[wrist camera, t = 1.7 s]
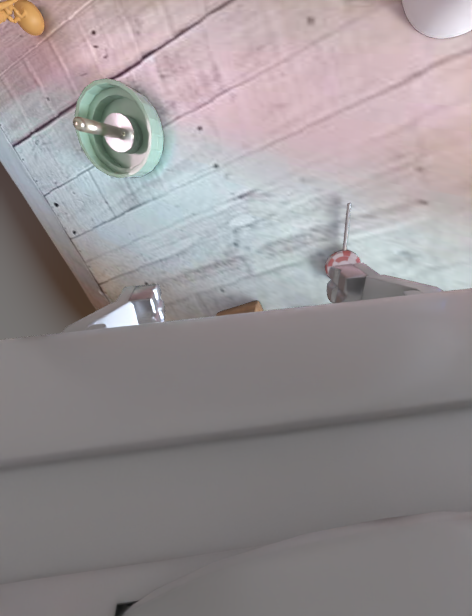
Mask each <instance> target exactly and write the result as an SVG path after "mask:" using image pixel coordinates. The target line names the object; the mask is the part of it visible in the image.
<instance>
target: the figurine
mask: <svg viewBox="0 0 472 616" xmlns="http://www.w3.org/2000/svg"><path fill="white" fill-rule="evenodd" d="M13 3H15V4H14V6H13ZM12 11H14V16H15V18H14V19H13V18H12V17H11V16H10V15H12ZM6 19H8V20H9V21H10V22H14V23H17V22H18V24H19V25H20V27H21V28H22V29H23V30H24V31H26V32H27V33H29V34H31V35H35V36H37V35H40V34H42V32H43V31H44V20H43V17H42V15H41V13H40V11H39V10H38V9H37V7H36V6H35V5H34V4H32V3H31V2H29V1H27V0H18V1H17V0H7V1H4V2H0V24H1V23H2V22H5V20H6Z"/></svg>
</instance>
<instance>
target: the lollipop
mask: <svg viewBox="0 0 472 616" xmlns="http://www.w3.org/2000/svg"><path fill="white" fill-rule="evenodd" d="M350 207H351V203H348V204H347V213H346V223H345V233H344V243H343V250H341V251H338V252H335V253H334V254H332V255H331V256H330V257H329V258H328V260H327V262H326V265H325V271H326V274H327V276H328V273H329V269H330V267H332V266H337V265H345V264H355V263H361V262H360V259H359V257H358V256H357V255H356V254H355V253H354V252H352V251H349V250H346V245H347V236H348V226H349V217H350ZM328 277H329V276H328Z"/></svg>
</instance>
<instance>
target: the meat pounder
mask: <svg viewBox="0 0 472 616" xmlns="http://www.w3.org/2000/svg"><path fill="white" fill-rule="evenodd" d="M73 125H74V127H75V128H76V129H77V130H78V131H81V132H86V133H91V134H96V135H101V136H104V137H105V140H106V142H107V143H108V145H109V146H110V147H111V148H112V149H113V150H115V151H117V152H120V153H129V154H131V153H135V152H137V151H138V150H139V148H140V147H141V144H142V139H143V138H142V131H141V128H140V126H139V124H138V123H137V122H136V121H135V120H134V119H133V118H132V117H130V116H127V115H124V114H121V113H111V114H109V115H108V116H107V117H106V119H105V121H104V123H101V122H97V121H94V120H90V119H86V118H82V117H75V118H74V119H73Z"/></svg>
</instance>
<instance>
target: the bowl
mask: <svg viewBox="0 0 472 616" xmlns="http://www.w3.org/2000/svg"><path fill="white" fill-rule="evenodd" d="M111 113H121V114H124V115H127V116H130V117H132V118H133V119H134V120H135V121H136V122H137V123H138V124H139V126H140V128H141V131H142V138H143V139H142V144H141V147H140V148H139V150H138V151H137V152H135V153H131V154H129V153H120V152H117V151H115V150H113V149H112V148H111V147H110V146H109V145H108V143H107V142H106V140H105V137H104V136H101V135H96V134H91V133H86V132H81V131H78V130H77V129H76V133H77V136H78V140H79V143H80V145H81V147H82V149H83V151H84V153H85V154H86V156H87V158H88V159H89V160H90V161H91V162H92V163H93V165H94V166H95V167H96V168H97V169H99V170H100V171H102V172H104V173H105V174H107V175H109V176H113V177H116V178H134V177H142V176H144V175H146V174H148V173H149V172H151V171H152V170H153V169H154V168H155V166H156V165H157V164H158V162H159V160H160V157H161V154H162V151H163V140H164V136H163V130H162V125H161V121H160V119H159V117H158V114H157V112H156V110H155V108H154V107H153V106H152V104H151V103H150V102H149V101H148V99H147V98H146V97H145V96H143V95H142V94H141V93H139V92H138V91H136V90H135V89H133V88H131V87H129V86H127V85H125V84H123V83H121V82H119V81H116V80H112V79H107V78H105V79H100V80H95V81H93V82H92V83H91V84H89V85H88V86H87V87H85V88H84V90H83V91H82V93H81V95H80V97H79V98H78V101H77V105H76V110H75V117H82V118H86V119H90V120H94V121H97V122H101V123H104V121H105V119H106V117H107V116H108V115H109V114H111Z"/></svg>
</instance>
